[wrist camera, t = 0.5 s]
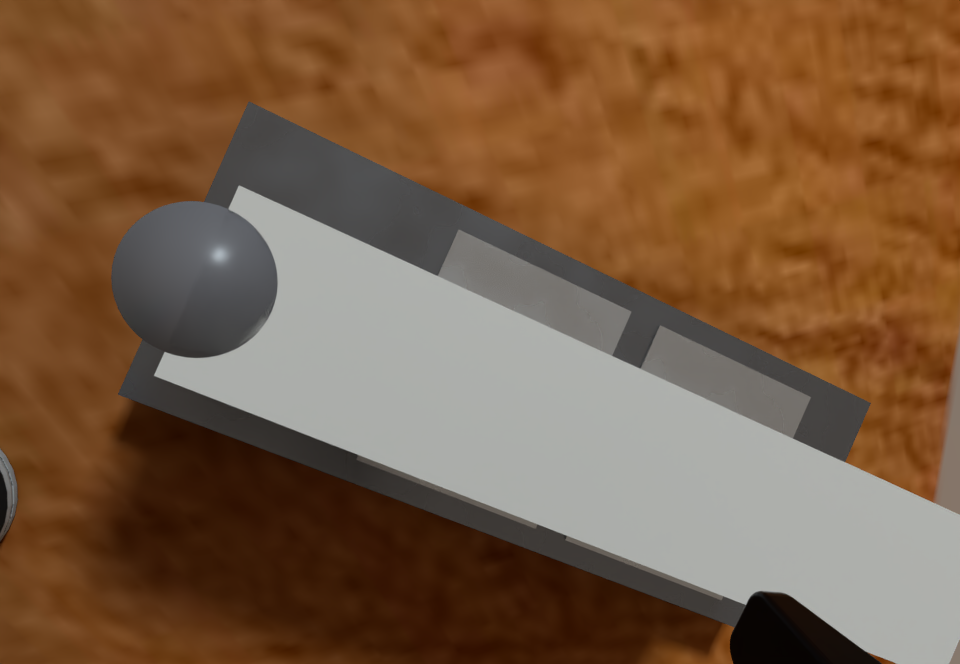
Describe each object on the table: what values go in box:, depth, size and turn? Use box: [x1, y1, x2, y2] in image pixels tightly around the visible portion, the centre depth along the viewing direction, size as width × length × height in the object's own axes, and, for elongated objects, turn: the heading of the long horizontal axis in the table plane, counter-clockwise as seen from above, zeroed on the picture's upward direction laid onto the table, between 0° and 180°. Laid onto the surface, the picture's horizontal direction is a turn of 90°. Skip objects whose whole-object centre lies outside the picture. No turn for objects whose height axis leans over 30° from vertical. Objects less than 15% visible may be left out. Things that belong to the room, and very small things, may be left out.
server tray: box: [118, 102, 871, 627], centre depth 24 cm, size 10×25×3 cm, turn 65°
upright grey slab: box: [112, 186, 960, 664], centre depth 18 cm, size 22×4×8 cm, turn 65°
